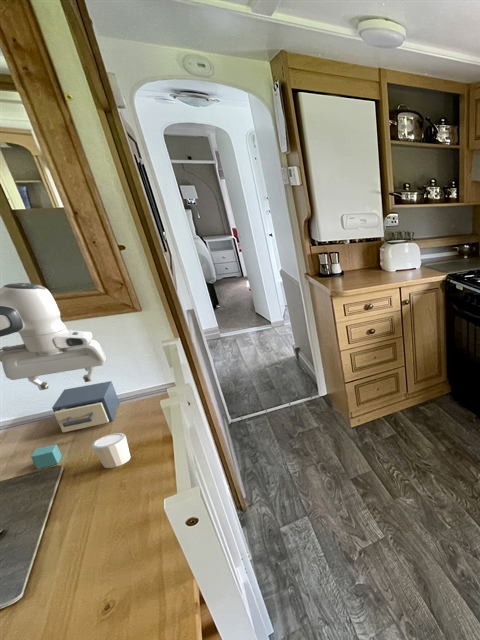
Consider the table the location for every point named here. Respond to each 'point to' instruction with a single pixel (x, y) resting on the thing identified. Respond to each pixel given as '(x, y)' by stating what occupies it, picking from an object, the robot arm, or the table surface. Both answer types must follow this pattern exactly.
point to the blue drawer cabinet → (90, 397)
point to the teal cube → (46, 456)
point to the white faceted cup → (112, 450)
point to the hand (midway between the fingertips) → (67, 384)
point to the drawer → (81, 416)
